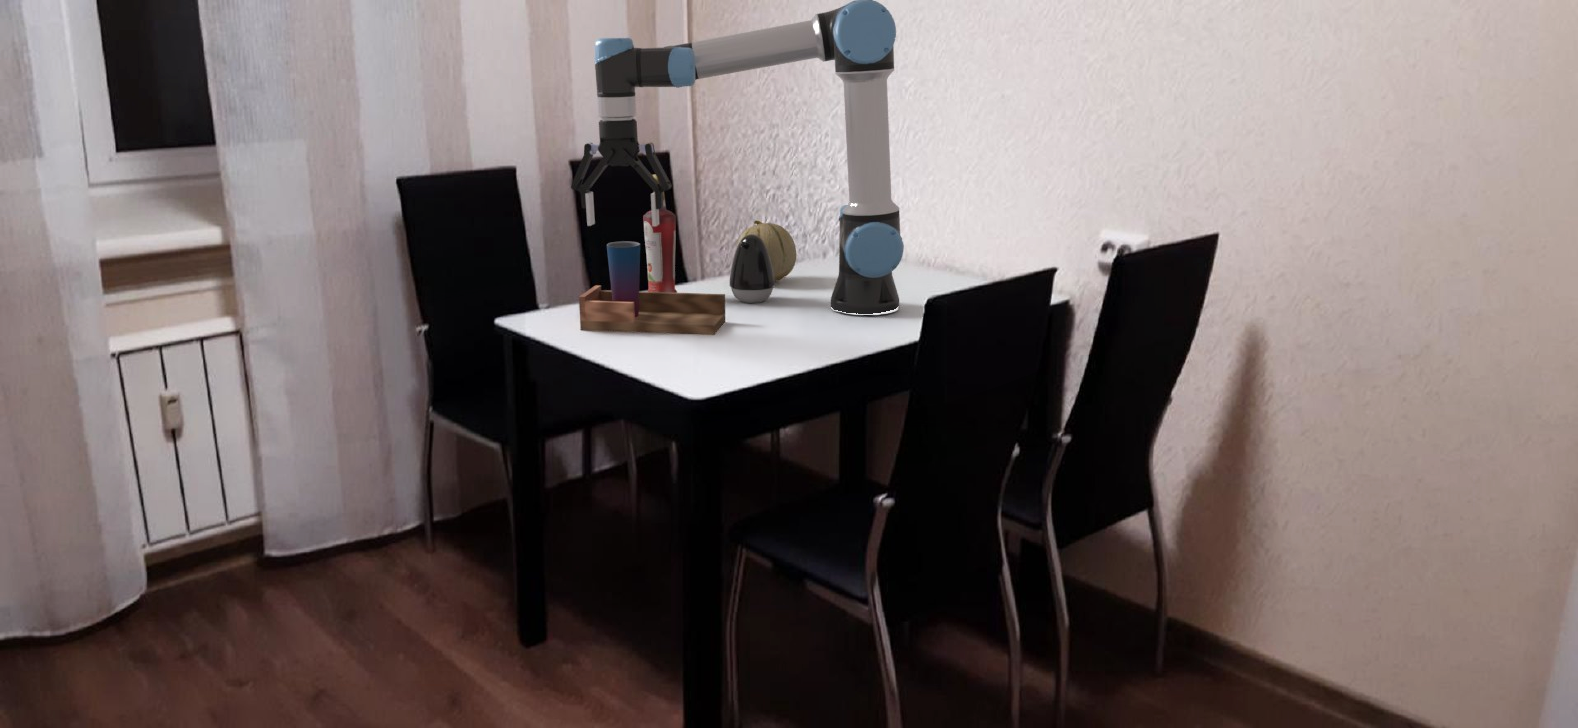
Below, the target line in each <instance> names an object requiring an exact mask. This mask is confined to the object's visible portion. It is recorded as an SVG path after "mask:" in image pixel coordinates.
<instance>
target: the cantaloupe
mask: <svg viewBox="0 0 1578 728" xmlns="http://www.w3.org/2000/svg"><path fill="white" fill-rule="evenodd" d="M753 223H754V225H753V226H750V227H748V228H747V229H745V230H744V232H743V233H742V234H741V236H740V237H739V239H738V241H737V245H736V247H737V246H738V244H739V242H740V241H741V239H742V238H743V237H745V236H746V235H750V234H754V235H757V236H759V237H760V238H761V239H762V240H763V242H764V243H765V245H766V247H767V250H768V252H769V256H770V259H771V263H772V267H773V273H774V280H775V282H776V283H777V282H778V281H780V280H782V279H784V278H785V277H787V276H788V275H789V274H790V273H791V272H792V271H793V269H794V267H795V265H796V261H797V248H796V243H795V241H794V239H793V237H792V236H791V235H792V234H790V233H789V232H788V230H787V229H786V228H785V227H783V226H781V225H779V224H778V223H777V224H776V223H773V222H772V223H771V222H766V223H764V222H761V221H760V220H754V222H753Z"/></svg>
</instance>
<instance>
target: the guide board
mask: <svg viewBox="0 0 1578 728" xmlns="http://www.w3.org/2000/svg"><path fill="white" fill-rule="evenodd" d="M578 307H579V323H580V324H579V325H580V331H591V332H592V331H594V332H595V331H596V332H620V333H622V332H623V333H645V334H647V333H649V334H651V333H652V334H673V335H699V336H700V335H701V336H715V335H716V334H717V333H718V332H719V330H720V329H721V328H722V327H723V326H724V325H725V323H726V294H724V293H700V292H699V293H698V292H695V293H694V292H677V293H673V292H647V291H640V290H639V315H638V316H637V317H635V312H634V302H619V301H613V300H612V291H611V289H610V290H609V289H608V290H607V289H604V290H602V285H598V284H597V285H594V286H592V287H591V288H589V289H588V290H586V291H585V292H584V293H582V294H580V295H579V296H578Z"/></svg>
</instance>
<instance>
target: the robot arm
mask: <svg viewBox="0 0 1578 728" xmlns="http://www.w3.org/2000/svg"><path fill="white" fill-rule="evenodd" d="M896 27H897V25H896V23H895V19H894V18H893V15H892V13H891V12H890V10H889V9H887V7H885V6H884V5H883V4H882V3H880V2H878V1H876V0H853V1H851V2H849V3H847V4H844V5H842V6H841V7H838V8H835V9H833V10H829V11H824V12H819V13H816V14H814V16H813V17H812V19H810V20H804V21H800V22H794V23H788V24H783V25H778V26H772V27H767V28H761V29H755V30H751V31H746V32H745V31H744V32H740V33H735V34H730V35H725V36H719V37H714V38H708V39H703V40H698V41H697V40H696V41H692V42H688V43H681V44H676V45H667V46H664V47H645V48H643V47H635V45H634V41H633V39H632V38H631V37H601V38H598V39H597V40H596V41H595V44H594V59H595V60H594V69H595V83H596V85H595V86H596V96H597V99H596V100H597V116H598V117H599V119H600V118H601V119H600V120H599V121H598V133H599V137H598V138H599V143H598V144H595V143H593V142H588V143H587V142H586V143H585V144H584V147H583V156H582V158H581V161H580V163H579V165H578V168H577V170H576V172H575V176H574V177H573V178H574V179H573V180H572V183H571V185H570V188H571V190H575V191H578V192H579V193H580V201H581V208H582V209H583V210H584V209H585V212H586V223H587V227H591V226H593V225H595V224H596V220H595V203H594V192H593V191H590V190H591V189H592V187H593V185H594V184H595V183H596V182H597V180H598V179H599V177H600V176H601V175H602V173H603V172H604V171H605V170H606V169H607V167H608V166H611V167H618V166H619V167H628V166H631V167H632V168H633V169H634V170H635V171H636V173H638V175H639V176H640V177H641V179H643V181H644V182H645V183H646V184H647V185H648V186H649V187H650V188H651V190H652V191H653V192H652V193H650V202H651V203H650V207H651V209H650V210H652V226H657V225H659V209H662V208H663V192H664V193H665V191H668V190H669V189H672V183H671V181H670V179H669V177H668V176H667V174H666V172H665V169H663V165H662V164H661V162H660V160H659V158H658V156H657V155H656V149H655V145H654V143H653V142H648V143H643V144H640V142H639V140H638V121H637V120H636V119H635V118H634V117H636V116H637V102H636V101H637V100H636V99H637V97H636V88H676V89H678V88H679V89H680V88H682V87H683V88H685V87H692V86H694V84H696V81H698V80H701V79H709V78H713V77H717V76H723V75H730V74H736V73H741V72H746V71H751V70H758V69H762V68H769V67H773V66H778V65H779V66H780V65H785V64H789V63H795V62H801V61H802V62H803V61H806V60H812V59H813V60H814V59H819V60H820V61H822V62H829V61H830V62H831V61H834V68H835V70H834V72H835V75H836V76H837V77H839V79H840V80H842V82H843V99H844V116H845V117H844V121H845V138H846V157H847V159H846V161H847V177H848V178H847V182H848V183H847V184H848V200H849V201H848V203H847V204H844V205H842V206H841V207H840V210H839V215H838V221H839V239H838V240H839V246H838V249H839V250H838V251H839V252H838V254H839V255H838V276H837V278H836V280H835V281H836V282H835V285H834V288H833V290H832V294H831V297H830V308H831V307H832V308H833V309H834V310H838V311H842V312H846V313H856V314H857V313H858V314H873V313H881V312H886V311H890V310H894V309H896V308H897V307H898V306H899V307H900V296H899V293H898V290H897V288H896V284H895V279H894V277H893V271H895V270H896V269H897V268H898V267H899V265H900V263H901V261H902V258H903V256H904V250H905V248H904V247H905V246H904V241H903V238H902V235H901V223H900V221H901V220H900V219H901V218H900V207H899V206H898V205H897V204H896V203H895V201H893V200H892V181H891V180H892V178H891V177H892V176H891V152H890V127H889V126H890V123H889V122H890V121H889V101H888V100H889V97H888V79H889V77H890V75H892V73H893V72H894V71H895V55H894V54H895V52H894V51H895V50H894V48H895V47H894V45H895V43H896V38H897V28H896ZM597 151H598V152H599V154H600V155H601V159H600V160H599V162H598V163H597V166H596V167H595V168H594V170H592V172H591V174H590V175H589V176H588V177H587V179H586V180H585V181H584V178H585V176H586V174H587V172H588V169H589V167H590V164H591V161H592V160H593V157H594V155H595V154H597ZM640 152H642V154H643V155H644V156H646V159H647V160H648V162H649V165H650V166H651V168H652V170H653V172H654V173H655V174H654V175H656V176H657V178H658V180H659V182H660V184H661V185H660V184H659V183H658V181H657V180H656V179H655V178H654V177H653V176H652V175H653V174H652V173H651V172H650V171H649V170H648V169H647V167H646V166H645V165H644V164H643V162H642V161H641V159H640V158H639V157H638V155H639V153H640ZM583 182H584V183H583ZM582 183H583V184H582Z"/></svg>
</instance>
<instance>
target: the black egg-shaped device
mask: <svg viewBox="0 0 1578 728" xmlns="http://www.w3.org/2000/svg"><path fill="white" fill-rule="evenodd" d="M737 245H738V246H737ZM737 245H736V249H735V253H734V255H733V258H732V262H731V268H730V273H729V287H730V288H731V292H732V294H733V296H734V298H736V299H737V300H738V301H739V302H741V303H744V304H745V303H746V304H760V303H762V302H764V301H766V300H767V299H768V298H770V297H771V295H772V292H773V290H774V287H775V280H774V273H773V267H772V263H771V259H770V256H769V252H768V250H767V247H766V245H765V243H764V242H763V240H762V239H761V238H760V237H759V236H757V235H754V234H750V235H746V236H745V237H743V238H742V239H741V241H740V242H739V244H738V243H737Z"/></svg>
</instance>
